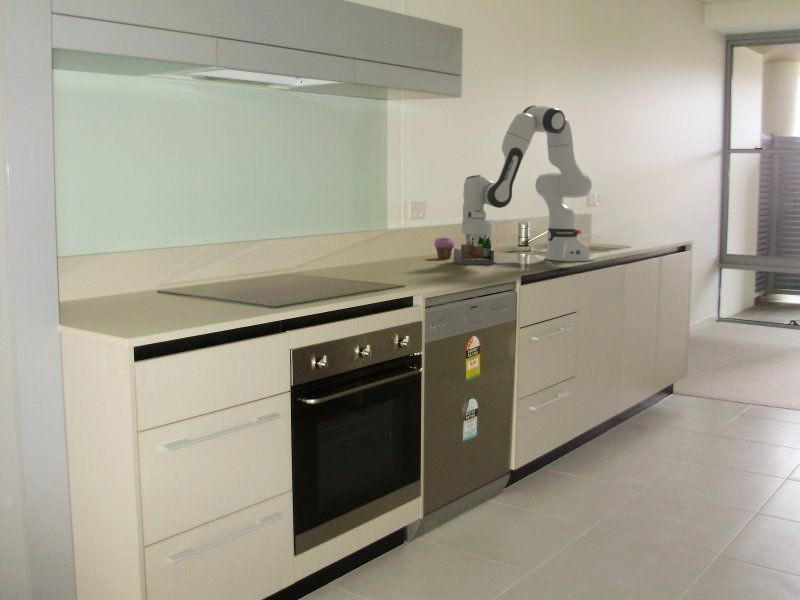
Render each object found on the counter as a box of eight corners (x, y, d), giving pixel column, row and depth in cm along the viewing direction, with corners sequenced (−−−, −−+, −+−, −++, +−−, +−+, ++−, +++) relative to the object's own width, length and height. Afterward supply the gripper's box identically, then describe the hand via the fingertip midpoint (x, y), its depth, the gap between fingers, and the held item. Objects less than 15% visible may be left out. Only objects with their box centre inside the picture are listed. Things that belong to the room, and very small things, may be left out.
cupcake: (447, 259, 392) (447, 237, 391) (430, 258, 397) (430, 236, 395) (457, 258, 399) (457, 236, 398) (440, 257, 404) (441, 235, 403)
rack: (485, 262, 385) (485, 248, 384) (493, 264, 374) (494, 250, 373) (453, 262, 382) (454, 248, 381) (461, 265, 371) (461, 250, 370)
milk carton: (468, 259, 395) (469, 214, 392) (475, 257, 403) (476, 214, 400) (486, 260, 391) (487, 215, 388) (493, 259, 399) (495, 214, 396)
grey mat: (512, 262, 386) (512, 260, 386) (519, 264, 377) (519, 262, 377) (490, 262, 384) (490, 260, 384) (497, 264, 375) (497, 263, 375)
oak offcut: (486, 264, 378) (486, 258, 378) (488, 265, 375) (488, 259, 375) (475, 264, 377) (475, 258, 376) (477, 265, 374) (477, 259, 374)
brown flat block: (480, 262, 383) (481, 244, 381) (482, 263, 380) (482, 244, 379) (460, 262, 381) (461, 244, 379) (462, 263, 378) (462, 244, 377)
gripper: (458, 212, 386) (457, 243, 388) (473, 214, 366) (472, 247, 368) (472, 212, 388) (471, 243, 389) (487, 214, 368) (486, 247, 370)
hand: (471, 245), depth 379 cm, fingers open, 8 cm apart
